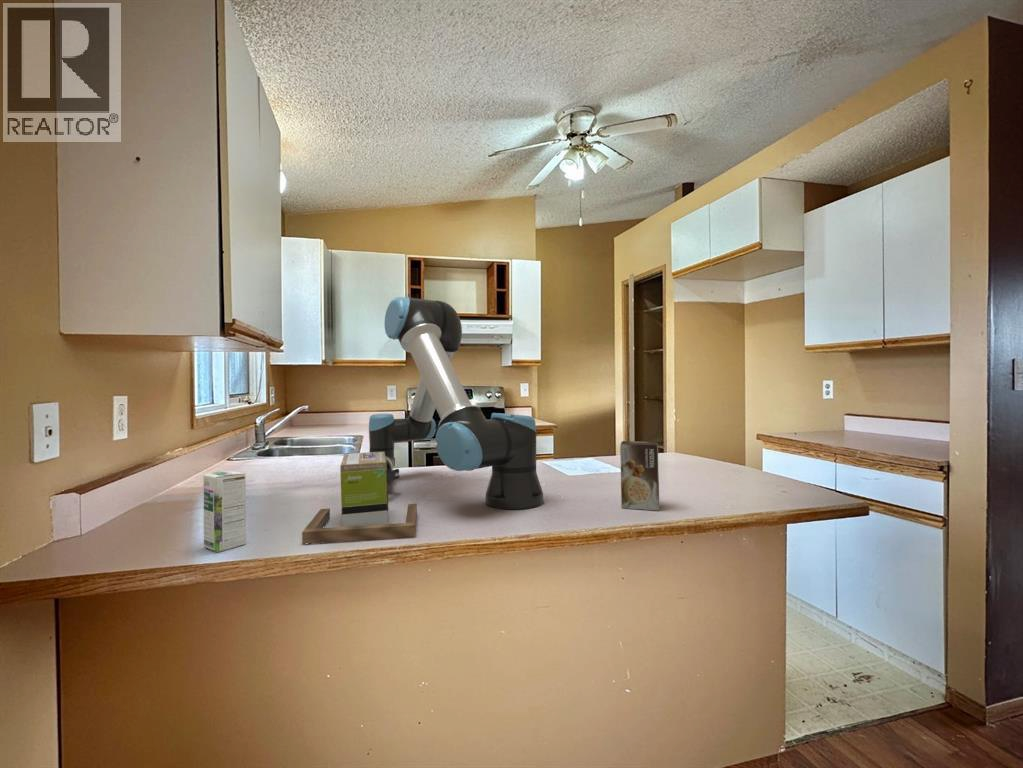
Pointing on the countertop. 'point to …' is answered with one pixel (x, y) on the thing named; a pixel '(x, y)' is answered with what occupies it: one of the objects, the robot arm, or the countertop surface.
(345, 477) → the tea box
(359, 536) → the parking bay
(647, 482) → the coffee box
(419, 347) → the robot arm
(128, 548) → the countertop surface
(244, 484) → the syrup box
